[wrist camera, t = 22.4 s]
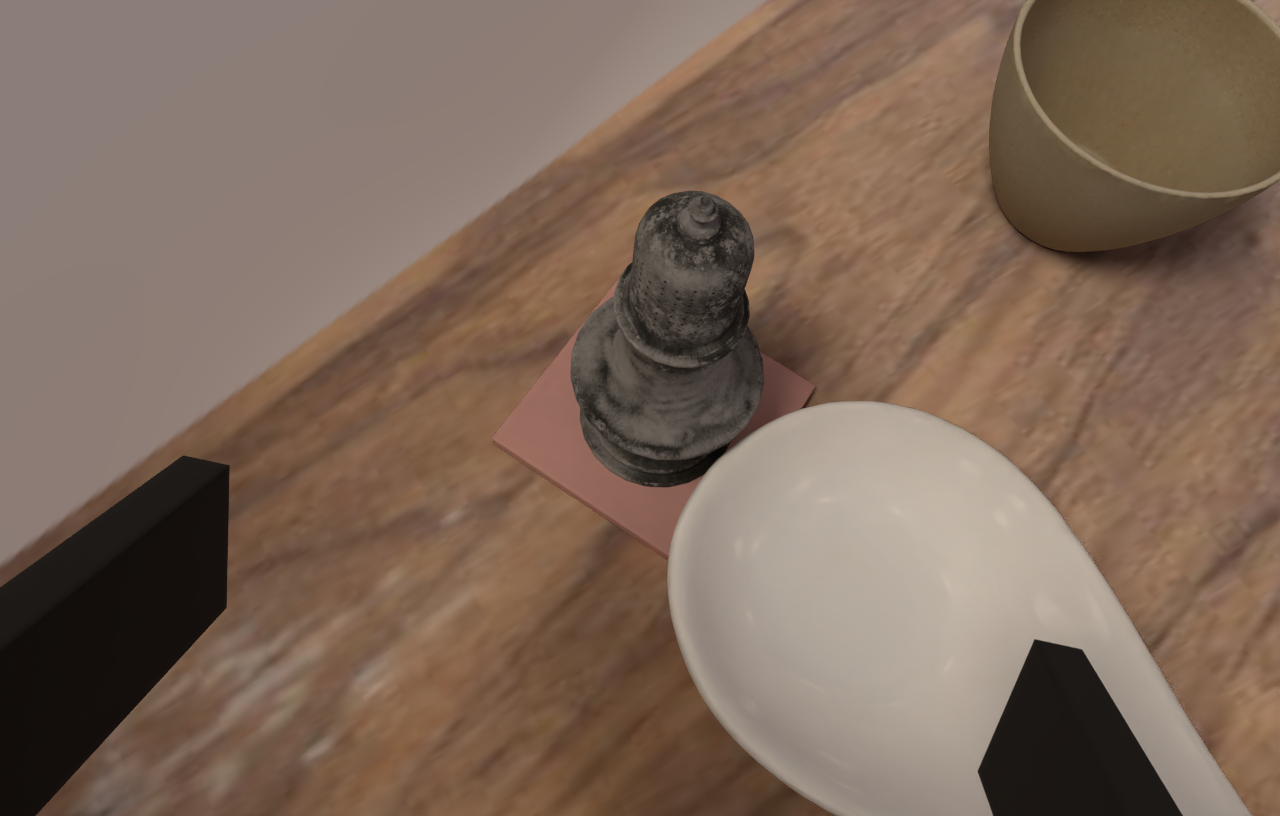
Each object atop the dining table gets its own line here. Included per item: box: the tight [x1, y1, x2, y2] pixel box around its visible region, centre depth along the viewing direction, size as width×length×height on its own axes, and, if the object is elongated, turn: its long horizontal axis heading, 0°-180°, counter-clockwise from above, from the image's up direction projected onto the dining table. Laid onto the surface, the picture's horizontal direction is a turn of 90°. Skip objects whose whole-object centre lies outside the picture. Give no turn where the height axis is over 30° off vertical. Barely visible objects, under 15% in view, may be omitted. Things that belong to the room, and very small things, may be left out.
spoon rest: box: [667, 401, 1253, 816], centre depth 24 cm, size 24×12×7 cm, turn 39°
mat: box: [492, 279, 816, 560], centre depth 31 cm, size 8×8×1 cm
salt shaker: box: [570, 191, 764, 487], centre depth 25 cm, size 6×6×12 cm
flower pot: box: [989, 0, 1280, 252], centre depth 32 cm, size 10×10×7 cm
